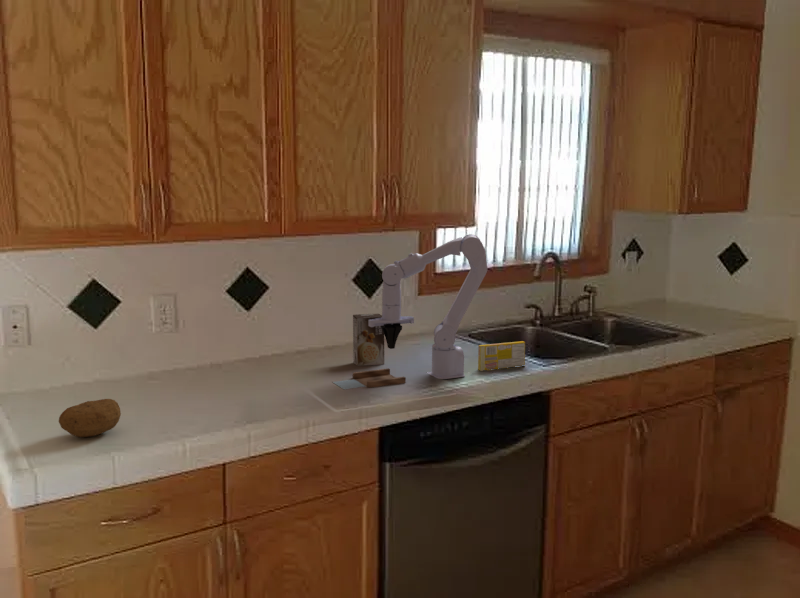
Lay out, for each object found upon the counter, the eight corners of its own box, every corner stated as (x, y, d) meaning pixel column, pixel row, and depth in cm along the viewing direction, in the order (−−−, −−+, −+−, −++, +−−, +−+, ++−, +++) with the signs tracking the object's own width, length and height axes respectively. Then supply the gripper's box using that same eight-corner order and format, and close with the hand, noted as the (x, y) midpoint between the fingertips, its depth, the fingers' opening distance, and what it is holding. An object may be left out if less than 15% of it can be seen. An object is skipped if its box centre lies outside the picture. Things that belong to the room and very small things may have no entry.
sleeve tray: (388, 375, 238) (388, 368, 238) (405, 384, 229) (405, 377, 228) (352, 379, 233) (352, 372, 232) (368, 389, 223) (368, 382, 223)
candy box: (521, 365, 253) (522, 340, 251) (525, 367, 251) (526, 342, 249) (477, 369, 247) (478, 344, 245) (480, 371, 245) (481, 345, 243)
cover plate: (353, 383, 231) (353, 379, 231) (365, 390, 225) (365, 386, 224) (332, 386, 228) (332, 382, 228) (343, 393, 221) (343, 389, 221)
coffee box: (379, 361, 255) (380, 313, 252) (384, 366, 249) (385, 316, 246) (352, 362, 253) (352, 314, 250) (356, 367, 247) (356, 318, 244)
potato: (53, 436, 182) (51, 403, 181) (112, 423, 192) (110, 392, 190) (68, 448, 175) (66, 414, 174) (129, 434, 185) (127, 401, 183)
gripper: (406, 300, 242) (406, 342, 244) (364, 303, 235) (364, 347, 238) (417, 304, 236) (416, 347, 238) (374, 307, 229) (373, 352, 232)
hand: (391, 348), depth 238 cm, fingers closed
